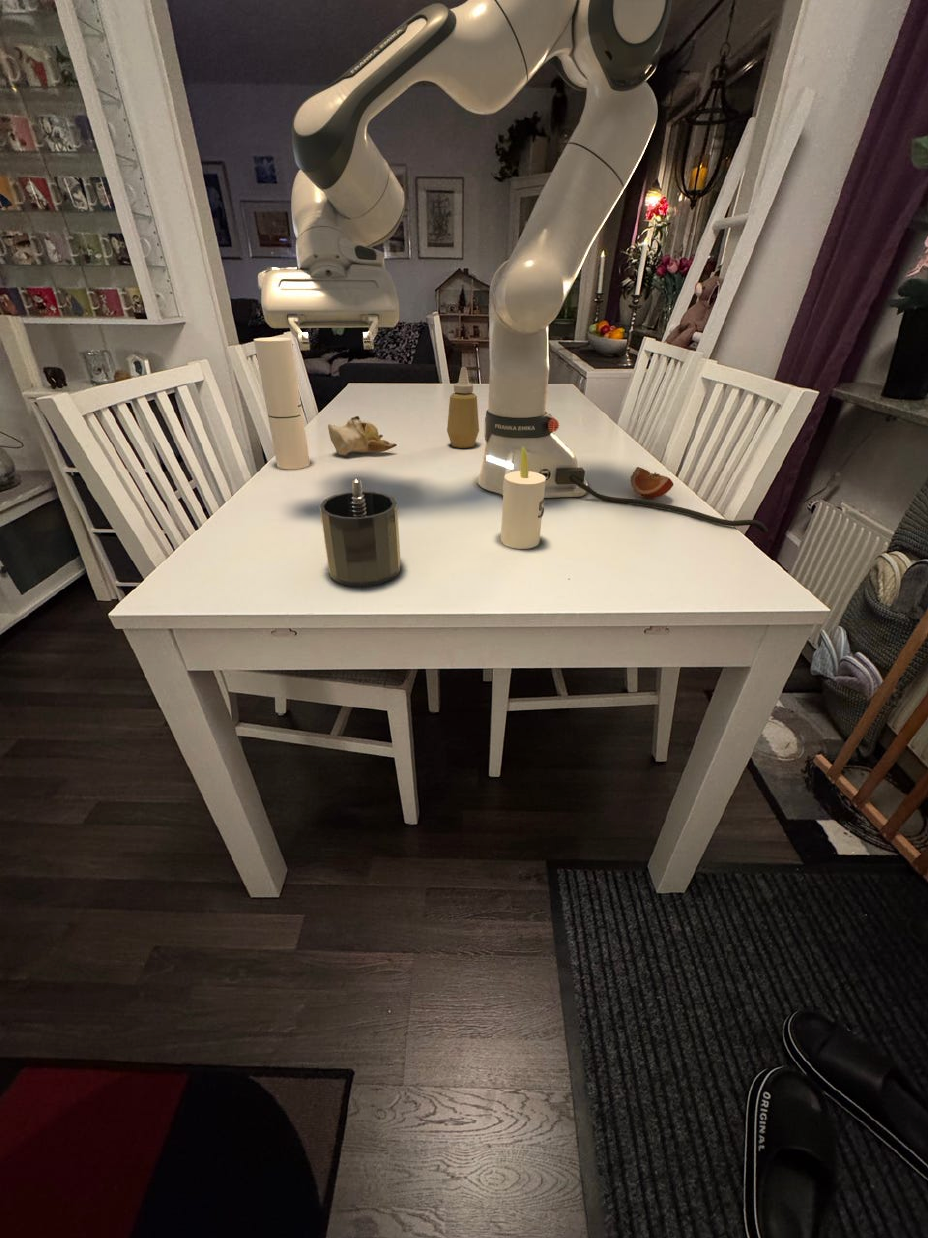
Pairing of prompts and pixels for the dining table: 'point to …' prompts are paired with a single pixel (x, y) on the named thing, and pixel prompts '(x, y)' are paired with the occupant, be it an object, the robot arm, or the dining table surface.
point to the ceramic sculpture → (357, 437)
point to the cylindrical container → (282, 401)
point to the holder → (361, 539)
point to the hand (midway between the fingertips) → (337, 346)
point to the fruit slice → (650, 484)
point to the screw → (358, 499)
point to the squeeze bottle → (463, 414)
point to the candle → (522, 506)
